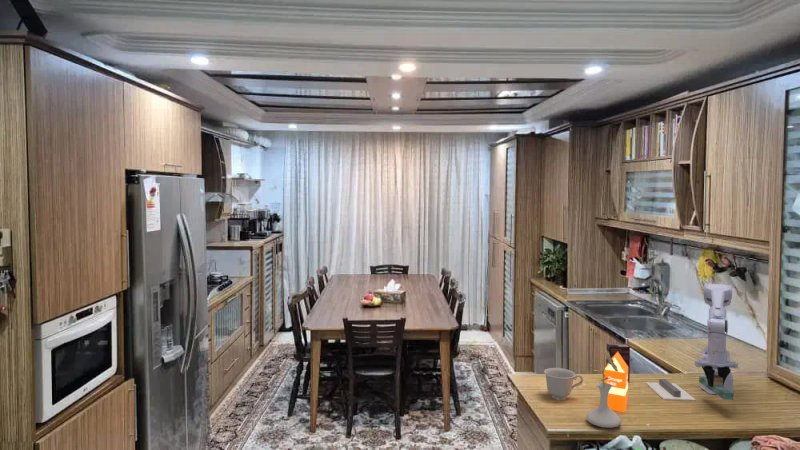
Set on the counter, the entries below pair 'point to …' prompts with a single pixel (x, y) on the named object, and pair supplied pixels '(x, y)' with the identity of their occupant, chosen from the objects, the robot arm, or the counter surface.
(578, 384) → the teacup
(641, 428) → the counter surface
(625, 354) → the supplement box
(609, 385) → the flower in vase
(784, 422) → the counter surface
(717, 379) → the bar
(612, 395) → the orange juice
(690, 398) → the ridge board
